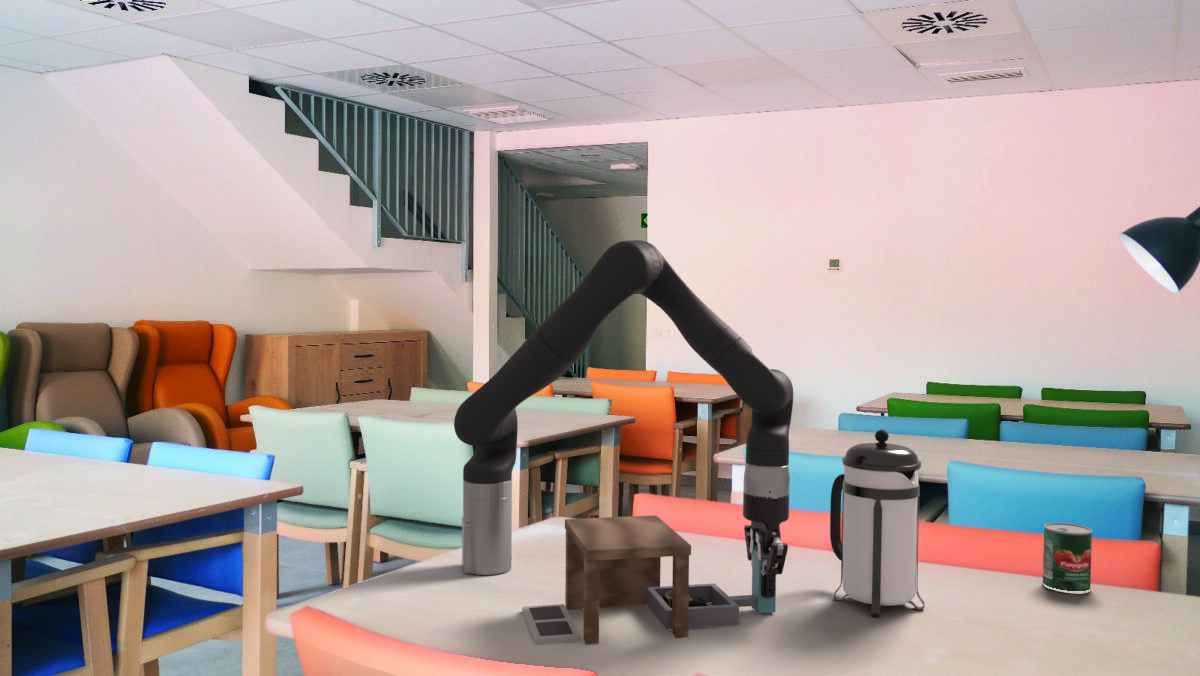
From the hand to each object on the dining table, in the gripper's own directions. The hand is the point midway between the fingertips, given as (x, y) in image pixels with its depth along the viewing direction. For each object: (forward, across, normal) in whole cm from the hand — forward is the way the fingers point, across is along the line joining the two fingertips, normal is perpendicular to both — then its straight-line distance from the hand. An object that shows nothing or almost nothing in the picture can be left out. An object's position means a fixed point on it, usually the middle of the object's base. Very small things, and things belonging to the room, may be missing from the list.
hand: (763, 593), depth 156 cm
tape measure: (+4, 0, -13) cm, 14 cm away
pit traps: (+4, 0, -36) cm, 36 cm away
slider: (+3, 0, -9) cm, 9 cm away
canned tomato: (+3, -2, +59) cm, 59 cm away
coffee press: (+3, -1, +20) cm, 20 cm away
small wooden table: (+3, 0, -24) cm, 24 cm away
